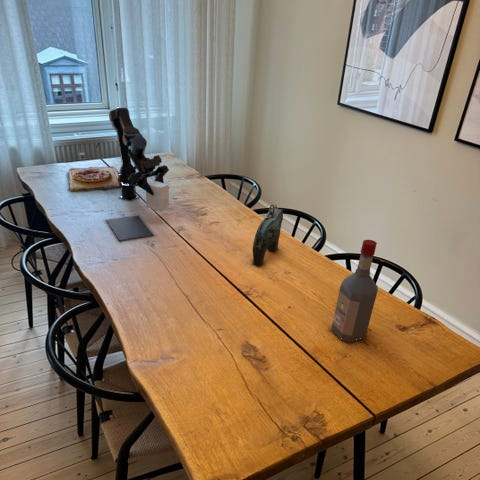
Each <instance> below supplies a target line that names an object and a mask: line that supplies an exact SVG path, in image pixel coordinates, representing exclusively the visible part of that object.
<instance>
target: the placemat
mask: <svg viewBox="0 0 480 480" xmlns="http://www.w3.org/2000/svg"><path fill="white" fill-rule="evenodd" d="M106 222H107V224H108V225H109V227H110V228H111V231H112V232H113V233H114V235H115V236H116V238H117V240H118V241H119V242H122V241H124V242H125V241H130V240H136V239H143V238H144V239H145V238H149V237H154V234H153V233H152V231H151V230H150V229H149V228H148V226H146V225H147V224H145V223H144V222H143V219H141V218H140V216H139V215H134V216H133V215H132V216H126V217H119V218H111V219H106Z"/></svg>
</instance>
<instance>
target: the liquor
mask: <svg viewBox="0 0 480 480" xmlns="http://www.w3.org/2000/svg"><path fill="white" fill-rule="evenodd" d="M361 244H362V245H361V248H360V256H359V259H358V263H357V268H356V269H355V272H353V273H351V274H350V275H348V276H346V277H345V278H343V280H342V281H341V283H340V285H339V290H338V296H337V300H336V305H335V310H334V314H333V319H332V324H331V328H330V329H331V332H332V333H333V334H334V335H335V336H336V337H337V338H338V339H339V340H340V341H342V342H346V343H349V344H350V343H354V342H358V341H363V340H364V339H365V338H366V336H367V332H368V329H369V326H370V322H371V317H372V314H373V310H374V307H375V302H376V299H377V295H378V291H379V289H378V285H377V283H376V282H375V280H374V279H373V278H372V276H371V267H372V263H373V258H374V256H375V252H376V249H377V245H378V243H377V241H375V240H373V239H364V240H363V241H362V243H361ZM364 337H365V338H364ZM341 338H342V339H341ZM360 338H361V339H360ZM356 339H357V340H356Z"/></svg>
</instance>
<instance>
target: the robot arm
mask: <svg viewBox="0 0 480 480" xmlns="http://www.w3.org/2000/svg"><path fill="white" fill-rule="evenodd" d="M108 118H109V122H110V123H111V127H112V128H113V129H114V131H115V132H116V137H117V143H118V151H119V156H120V157H119V158H120V164H121V165H120V168H119V171H118V172H119V177H118V183H119V186H118V187H120V188H121V196H119V197H120V199H123V200H125V201H134V200H136V199H138V198H139V197H140V196H139V195H137V190H136V187H139V188H140V189H142V190H144V191H145V192H146V191H147V192H148V193H149V194H151V195H154V193H153V191H152V189H151V187H150V186H149V184H148V182H149V181H148V179H149V178H151V177H154V179H153V181H157V182H161V183H165V182H164V177H165V176H166V174H167V173H168V172H170V169H169V167H168V166H167V165H165V164H164V165H161V163H163V161H162V158H161V156H160V155H159V154H157V155H155V156H153V158H150V157H147V156H146V155H145V152H146V149H147V144H148V142H147V139H146V138H145V137H144V136H143V134H142V133H141V132H140V130H139V129H138V128H136V127H135V126H134V124H133V121H132V119H131V116H130V110H129V108H127V107H116V108H115V109H112V110H110V111H109V113H108ZM132 163H133V164H132ZM157 166H158V167H157Z"/></svg>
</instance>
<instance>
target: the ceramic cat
mask: <svg viewBox="0 0 480 480" xmlns="http://www.w3.org/2000/svg"><path fill="white" fill-rule="evenodd" d="M267 211H268V212H267V214H266V217H265V218H264V219H263V220H262V221H261V222H260V223H259V225H258V227H257V229H256V232H255V235H254V239H253V242H252V259H253V260H252V265H254V266H258V267H261V266H262V265H263V264H264V259H265V256H266V253H267V250H268V251H269V252H276V251H277V250H278V248H279V242H280V236H281V231H282V230H281V229H282V224H283V223H282V222H283V220H284V211H283V209H280V208H278V207H277V205H276V204H270V206H269V209H268V210H267Z"/></svg>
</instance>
